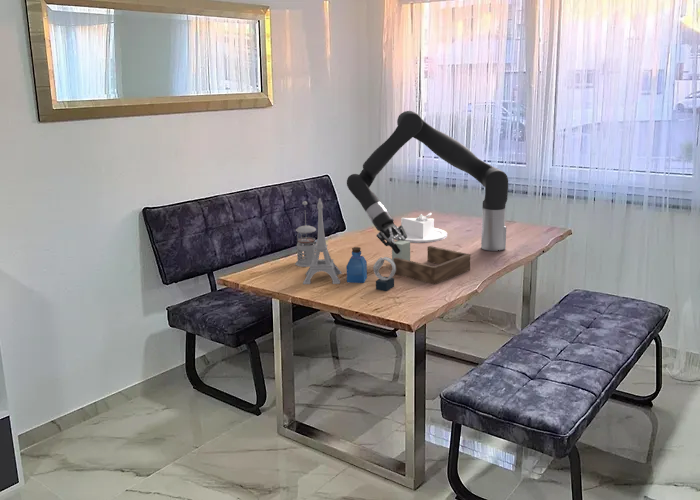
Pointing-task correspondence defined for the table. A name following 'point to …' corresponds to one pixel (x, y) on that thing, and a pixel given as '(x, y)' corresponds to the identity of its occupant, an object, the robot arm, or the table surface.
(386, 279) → the watch
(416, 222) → the dish
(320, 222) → the eiffel tower
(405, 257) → the sage block
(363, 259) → the perfume bottle
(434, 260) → the walnut u-shaped frame
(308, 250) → the french press
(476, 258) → the table surface
